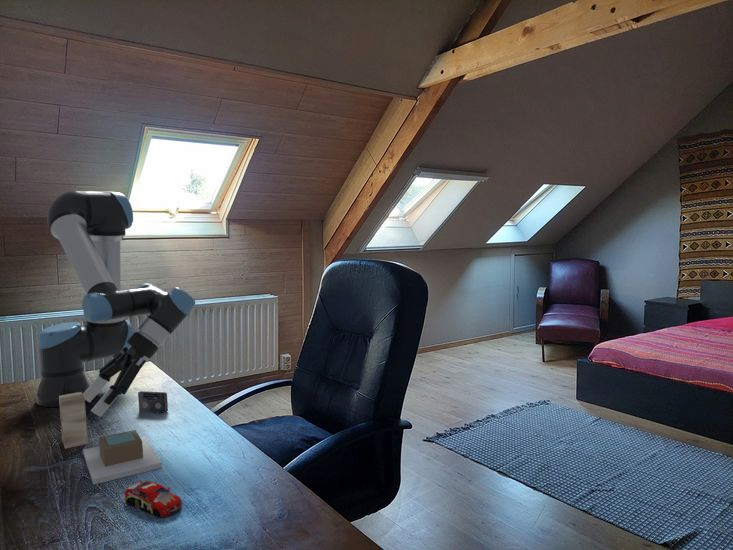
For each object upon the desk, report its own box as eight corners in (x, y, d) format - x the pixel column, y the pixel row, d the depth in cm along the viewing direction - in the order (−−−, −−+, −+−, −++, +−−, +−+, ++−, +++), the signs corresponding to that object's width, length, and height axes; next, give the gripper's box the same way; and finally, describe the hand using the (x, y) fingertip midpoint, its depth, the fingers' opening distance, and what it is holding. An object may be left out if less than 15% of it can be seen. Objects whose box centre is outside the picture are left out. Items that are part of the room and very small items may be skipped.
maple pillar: (62, 442, 138) (58, 395, 137) (84, 437, 141) (81, 391, 140) (65, 448, 134) (61, 401, 133) (87, 443, 137) (84, 397, 136)
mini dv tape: (168, 412, 159) (167, 391, 158) (165, 413, 157) (164, 393, 157) (142, 410, 160) (141, 390, 160) (139, 412, 159) (138, 392, 158)
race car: (187, 510, 106) (186, 490, 105) (163, 523, 101) (162, 502, 101) (145, 491, 113) (144, 472, 113) (121, 503, 109) (120, 483, 108)
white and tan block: (83, 454, 131) (81, 432, 130) (145, 440, 138) (144, 420, 138) (93, 484, 116) (91, 460, 115) (162, 467, 123) (160, 444, 123)
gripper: (173, 355, 137) (113, 428, 129) (146, 339, 157) (92, 401, 149) (150, 338, 133) (87, 412, 126) (125, 323, 153) (69, 386, 146)
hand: (90, 406), depth 138 cm, fingers open, 13 cm apart
